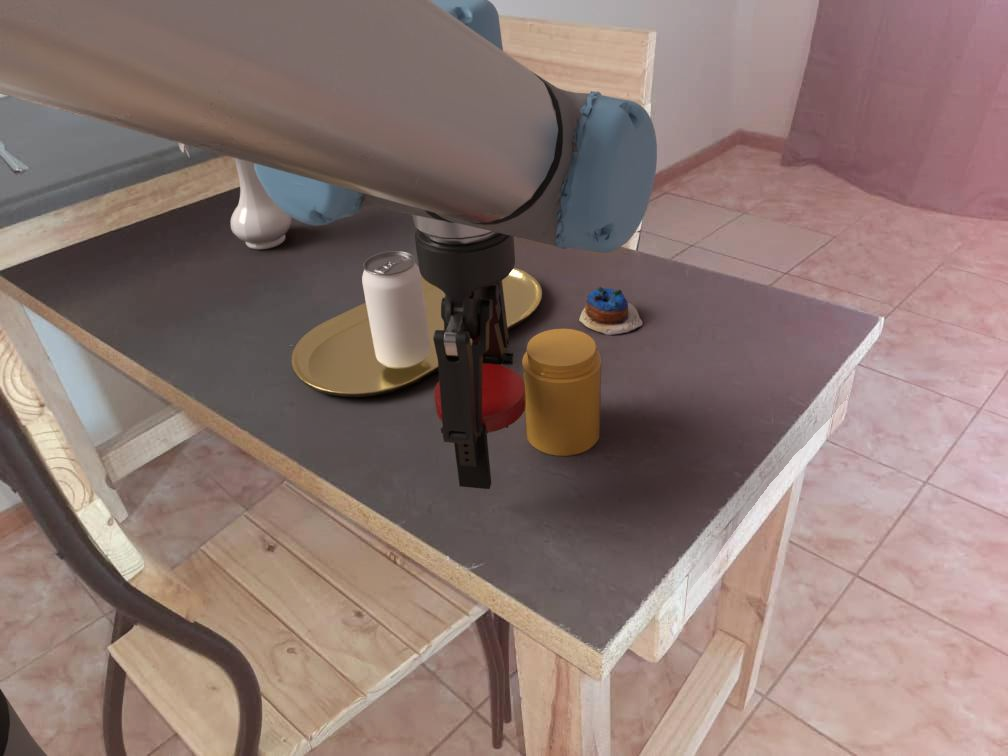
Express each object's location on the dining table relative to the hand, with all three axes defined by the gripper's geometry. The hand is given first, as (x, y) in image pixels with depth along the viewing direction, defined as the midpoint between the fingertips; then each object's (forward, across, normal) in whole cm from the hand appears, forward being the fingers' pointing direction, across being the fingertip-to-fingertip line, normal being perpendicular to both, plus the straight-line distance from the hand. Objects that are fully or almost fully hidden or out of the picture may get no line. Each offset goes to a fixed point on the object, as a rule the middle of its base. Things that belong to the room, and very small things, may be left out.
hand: (485, 452), depth 72 cm
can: (+3, -19, -14) cm, 24 cm away
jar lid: (-7, 0, 0) cm, 7 cm away
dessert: (+5, -32, +9) cm, 33 cm away
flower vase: (+4, -50, -47) cm, 69 cm away
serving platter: (+4, -27, -14) cm, 31 cm away
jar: (+4, -9, +6) cm, 11 cm away
